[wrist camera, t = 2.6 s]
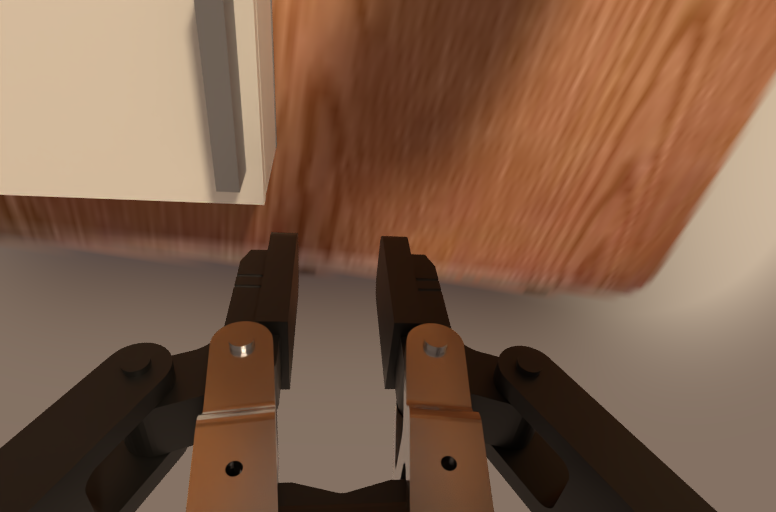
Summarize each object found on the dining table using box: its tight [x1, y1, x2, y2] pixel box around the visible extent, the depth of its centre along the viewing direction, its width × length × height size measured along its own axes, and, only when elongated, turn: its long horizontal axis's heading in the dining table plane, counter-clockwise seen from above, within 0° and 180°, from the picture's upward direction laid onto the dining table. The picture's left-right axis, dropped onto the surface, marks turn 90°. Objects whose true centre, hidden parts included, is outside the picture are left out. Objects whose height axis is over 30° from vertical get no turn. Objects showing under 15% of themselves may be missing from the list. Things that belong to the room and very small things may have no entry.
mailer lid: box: [0, 0, 266, 205], centre depth 24 cm, size 20×14×3 cm
